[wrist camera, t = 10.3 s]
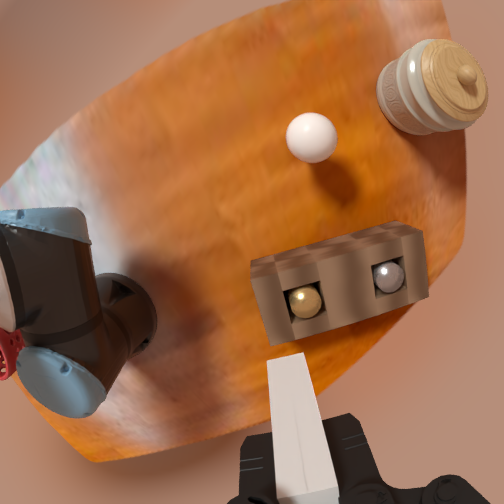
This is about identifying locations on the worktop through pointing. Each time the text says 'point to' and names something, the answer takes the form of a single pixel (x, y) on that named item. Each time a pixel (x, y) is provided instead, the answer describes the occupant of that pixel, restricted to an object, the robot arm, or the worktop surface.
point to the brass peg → (304, 300)
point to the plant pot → (9, 351)
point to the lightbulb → (311, 137)
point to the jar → (432, 88)
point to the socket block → (339, 280)
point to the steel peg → (387, 275)
